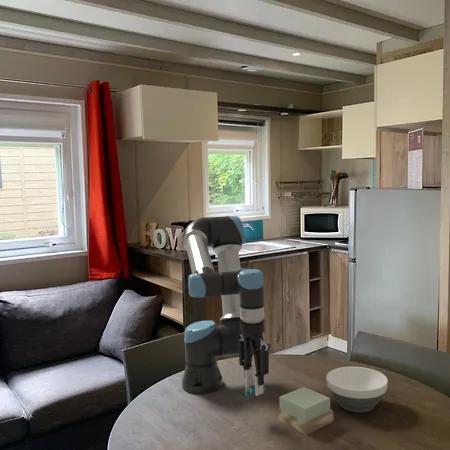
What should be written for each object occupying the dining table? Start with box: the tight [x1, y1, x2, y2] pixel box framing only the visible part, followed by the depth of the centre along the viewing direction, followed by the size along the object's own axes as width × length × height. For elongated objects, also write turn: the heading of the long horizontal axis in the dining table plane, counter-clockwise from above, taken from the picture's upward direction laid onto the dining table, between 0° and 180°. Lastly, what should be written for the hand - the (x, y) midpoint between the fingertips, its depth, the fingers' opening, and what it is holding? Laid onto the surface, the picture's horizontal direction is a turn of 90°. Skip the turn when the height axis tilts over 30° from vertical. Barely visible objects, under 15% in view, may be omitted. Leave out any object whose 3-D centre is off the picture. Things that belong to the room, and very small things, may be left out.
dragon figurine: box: [236, 379, 266, 400], centre depth 152 cm, size 6×7×8 cm
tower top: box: [278, 386, 331, 422], centre depth 150 cm, size 11×11×4 cm
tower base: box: [277, 407, 334, 436], centre depth 151 cm, size 12×12×4 cm
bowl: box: [325, 366, 389, 414], centre depth 159 cm, size 20×20×10 cm
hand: (254, 391), depth 153 cm, fingers closed on dragon figurine, 4 cm apart
